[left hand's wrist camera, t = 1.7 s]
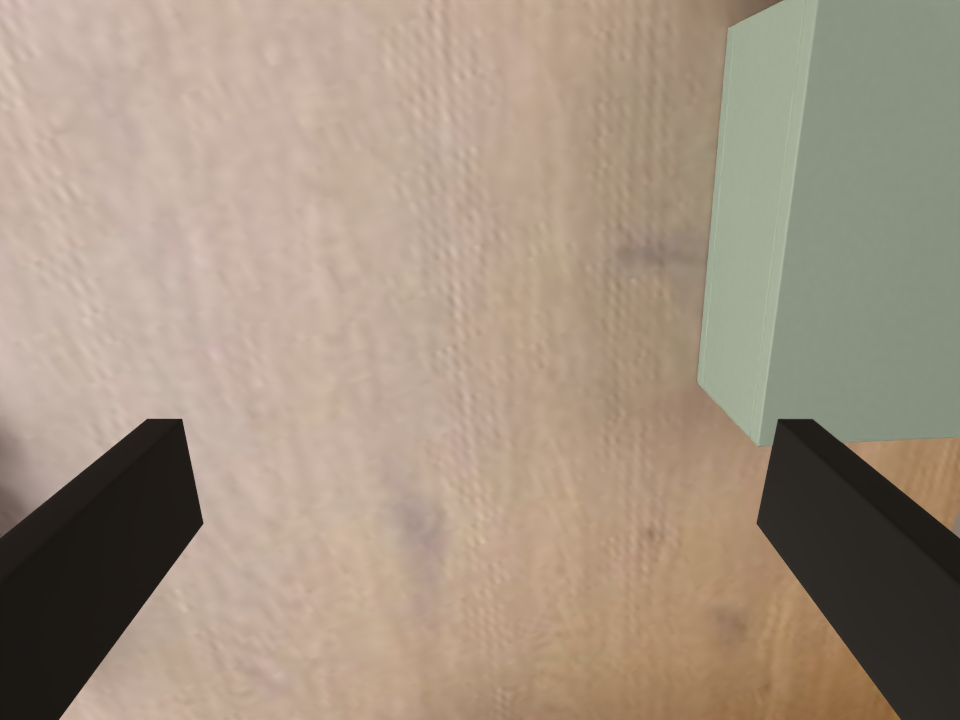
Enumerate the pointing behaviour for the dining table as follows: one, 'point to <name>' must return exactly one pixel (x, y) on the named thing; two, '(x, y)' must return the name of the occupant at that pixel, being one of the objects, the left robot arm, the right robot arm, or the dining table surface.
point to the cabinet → (838, 222)
